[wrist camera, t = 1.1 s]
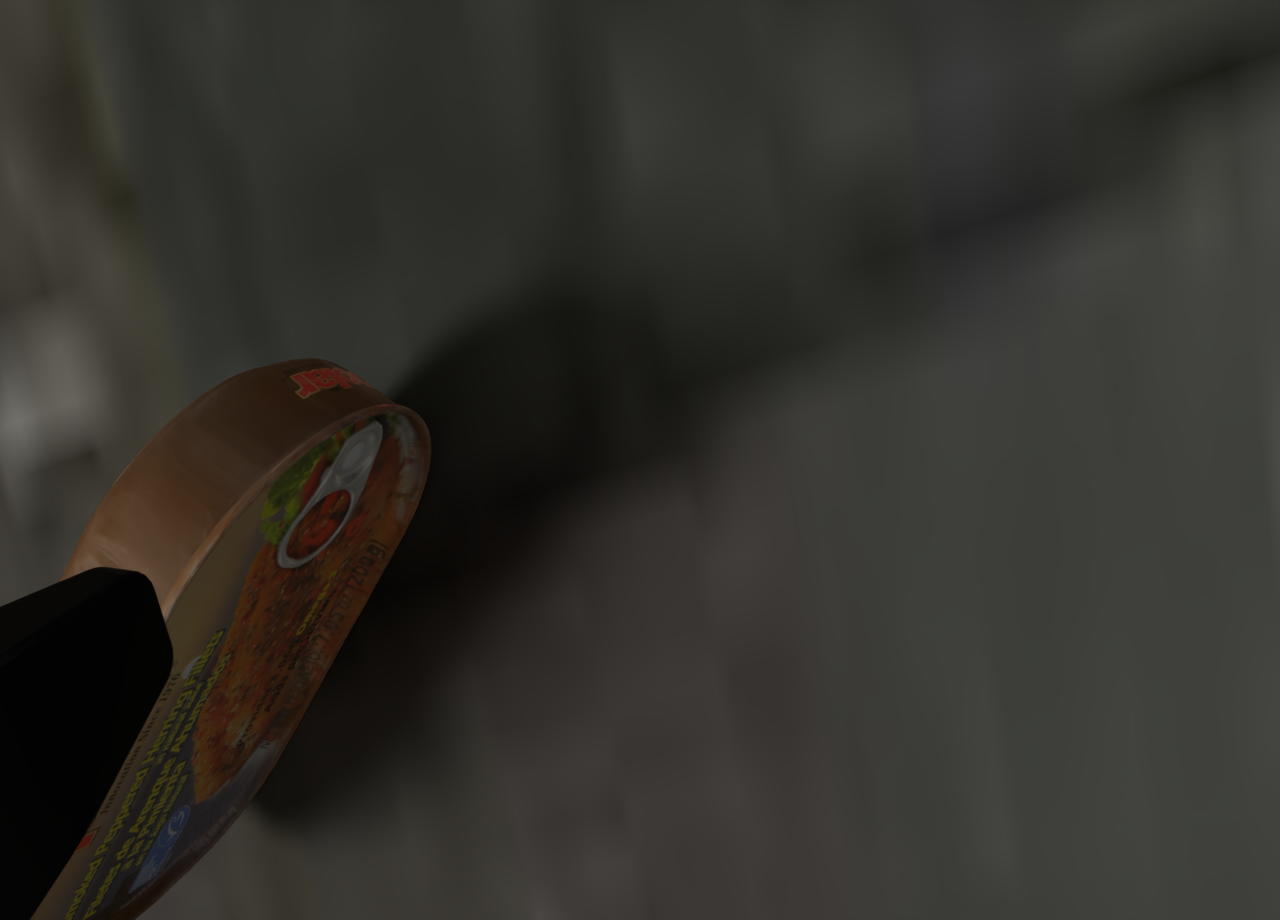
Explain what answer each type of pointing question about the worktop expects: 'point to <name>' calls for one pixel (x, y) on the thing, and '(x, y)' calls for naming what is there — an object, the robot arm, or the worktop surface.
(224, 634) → the tin
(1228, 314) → the worktop surface
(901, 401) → the worktop surface
